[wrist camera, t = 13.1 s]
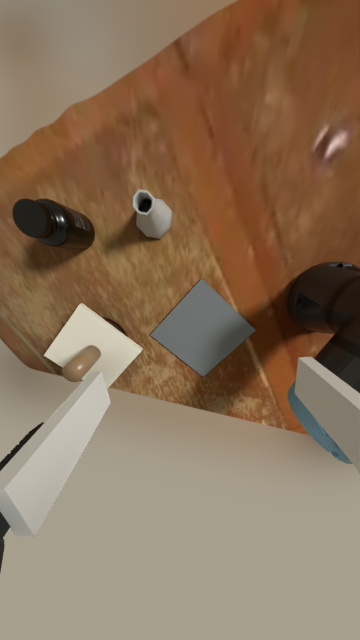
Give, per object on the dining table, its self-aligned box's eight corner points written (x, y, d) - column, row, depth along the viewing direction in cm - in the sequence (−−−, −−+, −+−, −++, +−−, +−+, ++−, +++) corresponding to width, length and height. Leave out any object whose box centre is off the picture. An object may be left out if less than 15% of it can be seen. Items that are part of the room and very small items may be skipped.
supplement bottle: (61, 209, 34) (0, 182, 22) (96, 216, 34) (53, 193, 23) (62, 246, 36) (7, 239, 25) (95, 252, 36) (55, 248, 25)
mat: (255, 329, 41) (256, 330, 41) (203, 376, 46) (203, 377, 45) (201, 278, 38) (201, 278, 37) (150, 334, 42) (150, 334, 42)
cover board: (142, 348, 37) (132, 370, 29) (104, 390, 40) (86, 419, 33) (82, 303, 34) (54, 314, 26) (46, 353, 37) (13, 376, 30)
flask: (162, 245, 36) (155, 239, 26) (130, 227, 35) (110, 215, 25) (178, 209, 34) (177, 189, 24) (144, 189, 33) (129, 160, 23)
